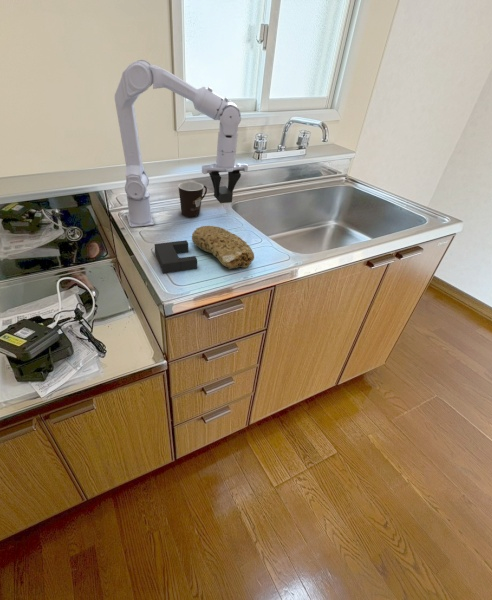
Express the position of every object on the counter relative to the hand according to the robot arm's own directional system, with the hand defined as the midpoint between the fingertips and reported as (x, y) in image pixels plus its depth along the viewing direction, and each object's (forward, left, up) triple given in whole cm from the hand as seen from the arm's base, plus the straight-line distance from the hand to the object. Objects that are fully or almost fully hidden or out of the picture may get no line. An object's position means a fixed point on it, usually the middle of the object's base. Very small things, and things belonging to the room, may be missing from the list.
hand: (222, 194), depth 103 cm
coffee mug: (-10, -6, -10) cm, 16 cm away
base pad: (+19, -21, -10) cm, 30 cm away
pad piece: (0, 0, -1) cm, 1 cm away
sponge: (+19, -7, -10) cm, 23 cm away
